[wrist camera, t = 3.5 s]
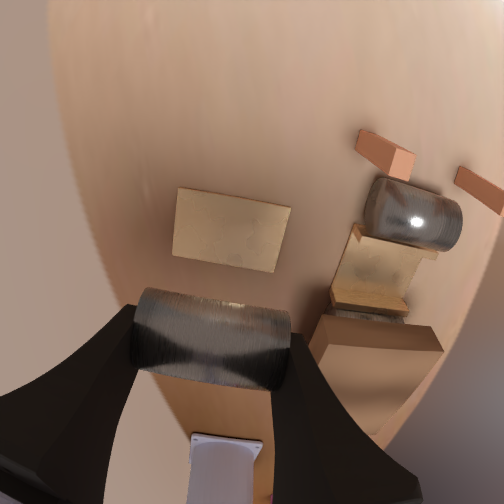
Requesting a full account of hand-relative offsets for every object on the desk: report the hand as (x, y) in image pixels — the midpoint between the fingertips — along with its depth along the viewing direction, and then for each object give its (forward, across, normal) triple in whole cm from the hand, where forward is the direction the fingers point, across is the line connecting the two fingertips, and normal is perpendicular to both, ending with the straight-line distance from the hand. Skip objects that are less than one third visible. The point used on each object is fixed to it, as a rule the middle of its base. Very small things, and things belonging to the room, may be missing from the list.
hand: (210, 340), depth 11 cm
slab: (+6, -10, +8) cm, 14 cm away
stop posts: (+9, -10, -7) cm, 15 cm away
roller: (+1, 0, 0) cm, 1 cm away
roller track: (+9, -5, +4) cm, 11 cm away
